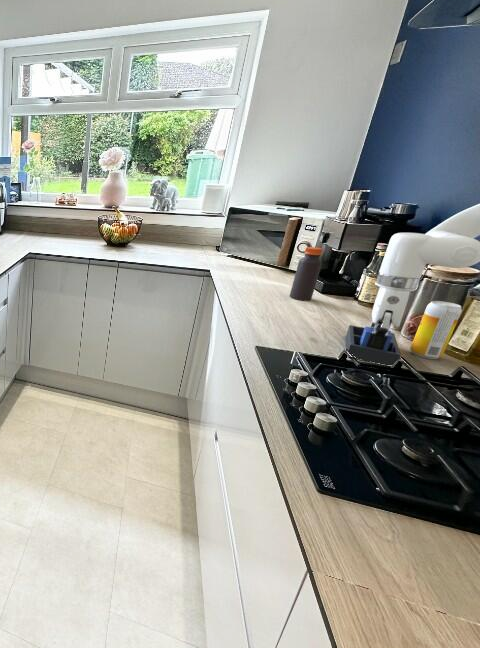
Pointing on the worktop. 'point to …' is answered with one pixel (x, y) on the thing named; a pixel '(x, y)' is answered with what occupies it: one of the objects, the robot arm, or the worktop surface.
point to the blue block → (366, 336)
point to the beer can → (435, 329)
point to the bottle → (307, 274)
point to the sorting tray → (371, 353)
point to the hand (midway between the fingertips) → (373, 344)
